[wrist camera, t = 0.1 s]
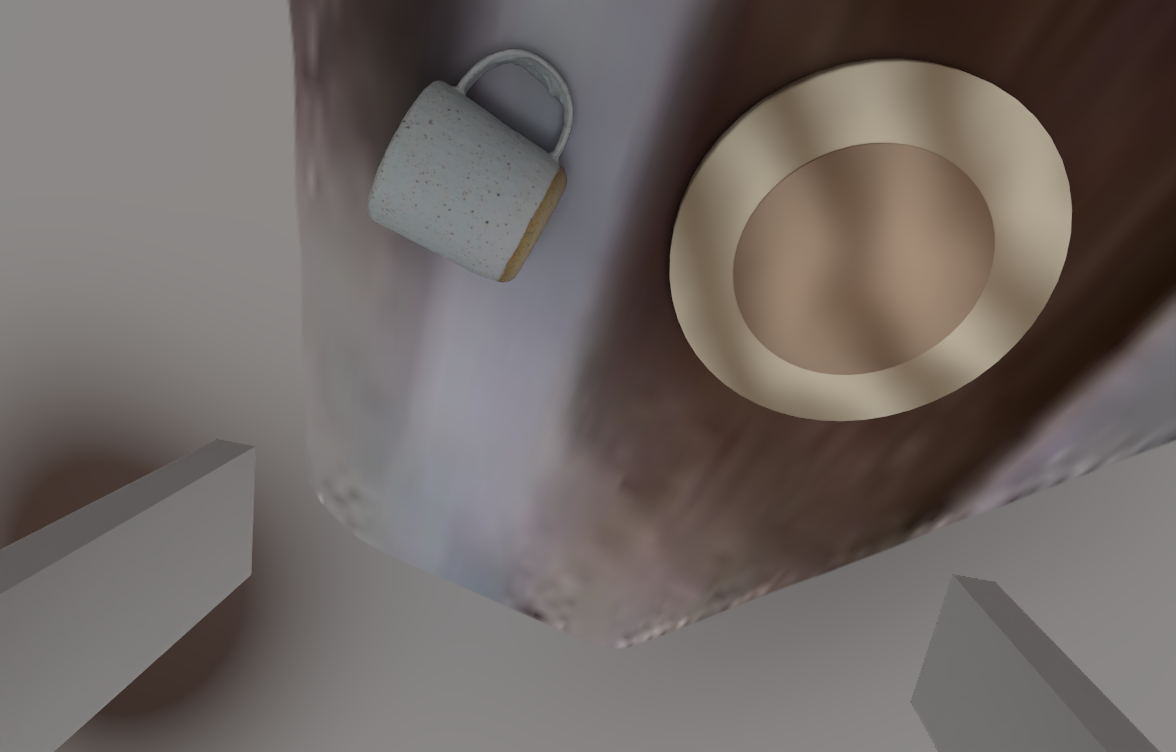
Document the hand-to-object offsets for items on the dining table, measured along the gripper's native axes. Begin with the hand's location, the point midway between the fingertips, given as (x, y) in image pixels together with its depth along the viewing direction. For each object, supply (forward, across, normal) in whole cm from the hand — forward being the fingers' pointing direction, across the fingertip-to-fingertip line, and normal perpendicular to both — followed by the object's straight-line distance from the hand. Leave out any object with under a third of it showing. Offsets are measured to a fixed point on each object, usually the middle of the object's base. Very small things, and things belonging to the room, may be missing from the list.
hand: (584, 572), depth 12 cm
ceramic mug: (+27, -9, +9) cm, 30 cm away
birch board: (+27, +12, +6) cm, 30 cm away
